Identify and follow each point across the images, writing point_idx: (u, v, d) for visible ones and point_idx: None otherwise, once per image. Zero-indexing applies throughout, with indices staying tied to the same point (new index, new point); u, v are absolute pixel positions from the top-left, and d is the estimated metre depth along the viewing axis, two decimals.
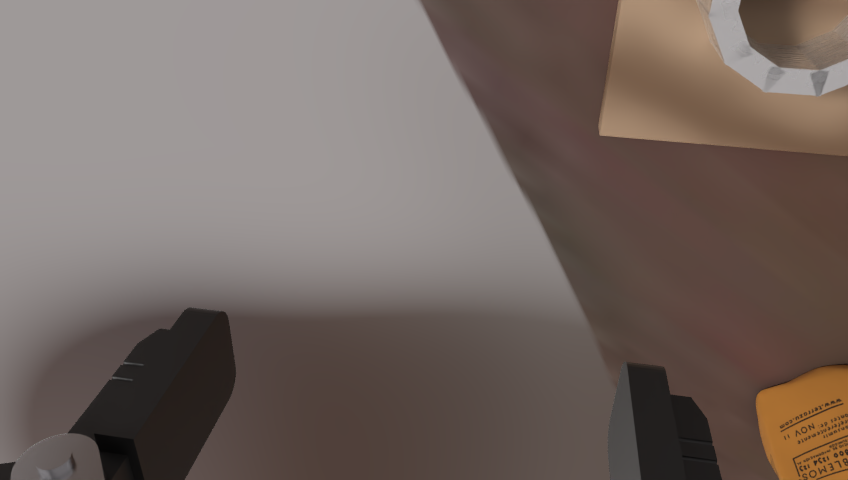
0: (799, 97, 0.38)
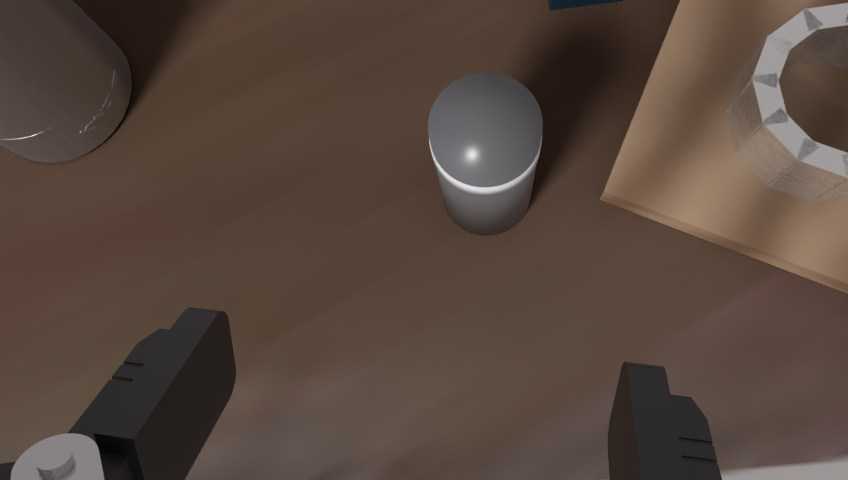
0: None
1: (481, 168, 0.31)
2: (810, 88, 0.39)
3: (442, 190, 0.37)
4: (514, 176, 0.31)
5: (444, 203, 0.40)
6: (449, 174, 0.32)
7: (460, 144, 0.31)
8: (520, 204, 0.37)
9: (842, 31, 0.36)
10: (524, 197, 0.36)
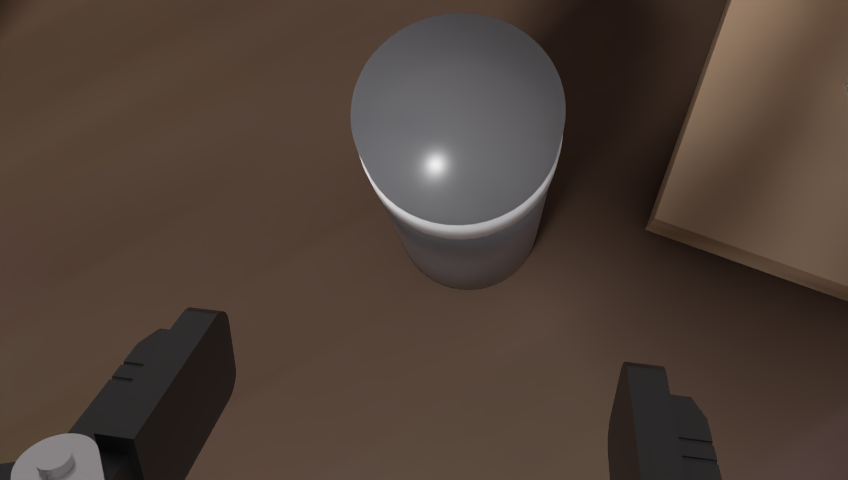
0: None
1: (451, 191, 0.16)
2: None
3: None
4: (514, 204, 0.17)
5: None
6: (393, 202, 0.17)
7: (410, 145, 0.17)
8: (523, 244, 0.22)
9: None
10: (529, 233, 0.22)
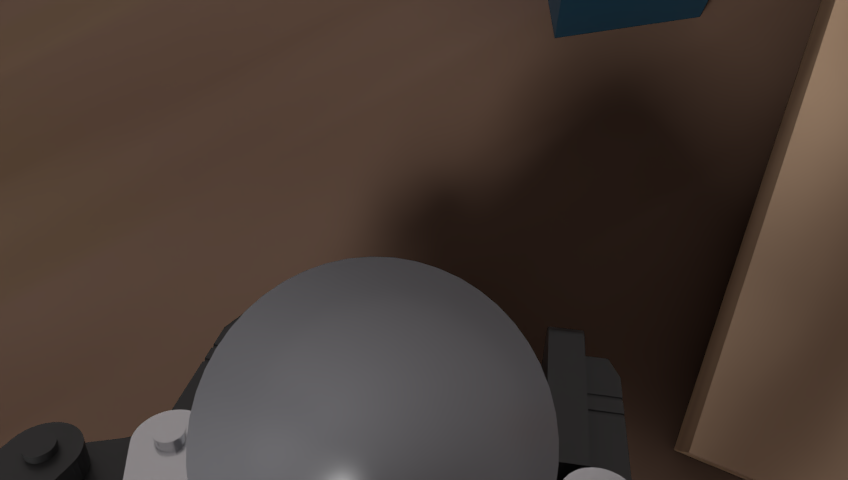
0: None
1: None
2: None
3: None
4: None
5: None
6: None
7: None
8: None
9: None
10: None
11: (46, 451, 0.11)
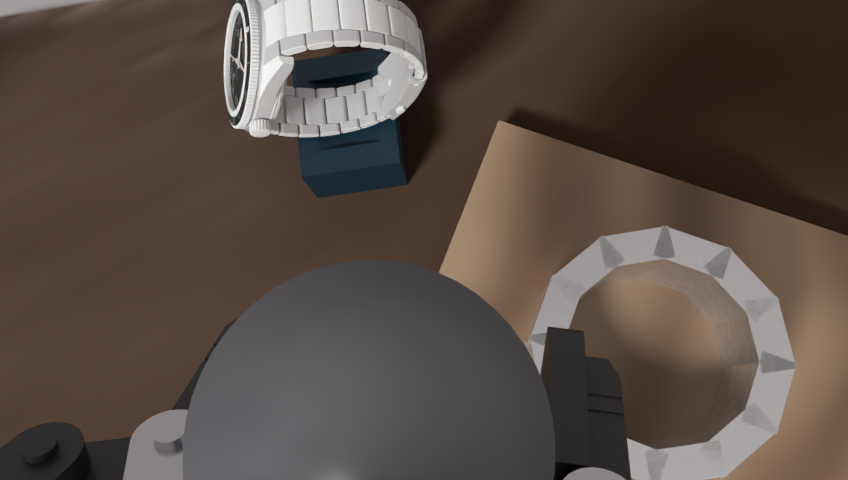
0: None
1: None
2: (631, 314, 0.30)
3: None
4: None
5: None
6: None
7: None
8: None
9: (653, 263, 0.27)
10: None
11: (46, 451, 0.11)
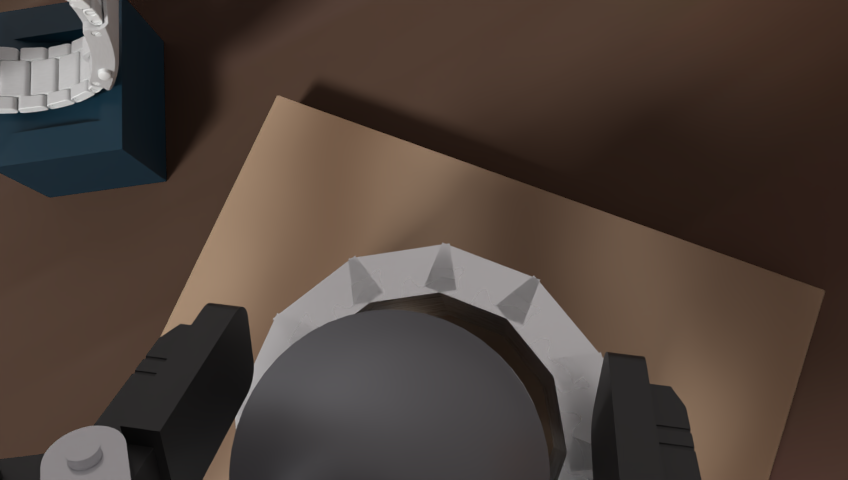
0: None
1: None
2: None
3: None
4: None
5: None
6: None
7: None
8: None
9: (432, 297, 0.18)
10: None
11: None
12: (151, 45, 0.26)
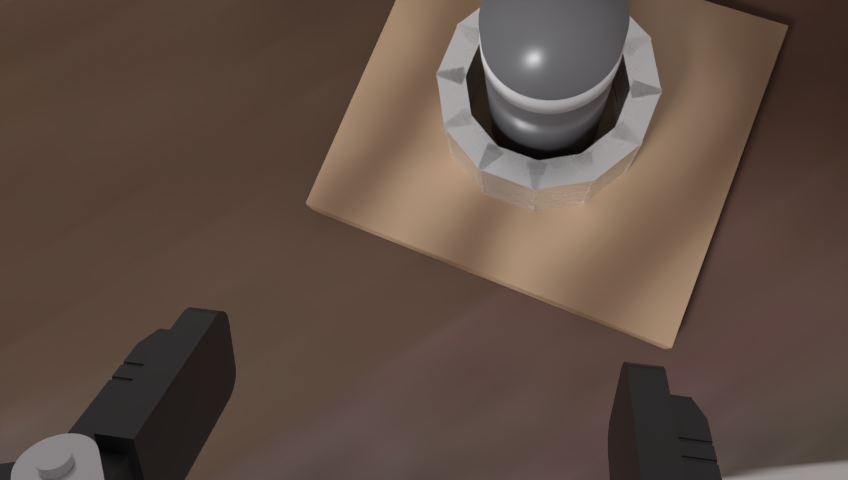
0: (679, 123, 0.33)
1: (552, 73, 0.24)
2: None
3: (494, 115, 0.30)
4: (594, 82, 0.24)
5: (494, 134, 0.33)
6: (508, 86, 0.25)
7: (522, 44, 0.24)
8: (592, 126, 0.30)
9: None
10: (598, 117, 0.29)
11: None
12: None
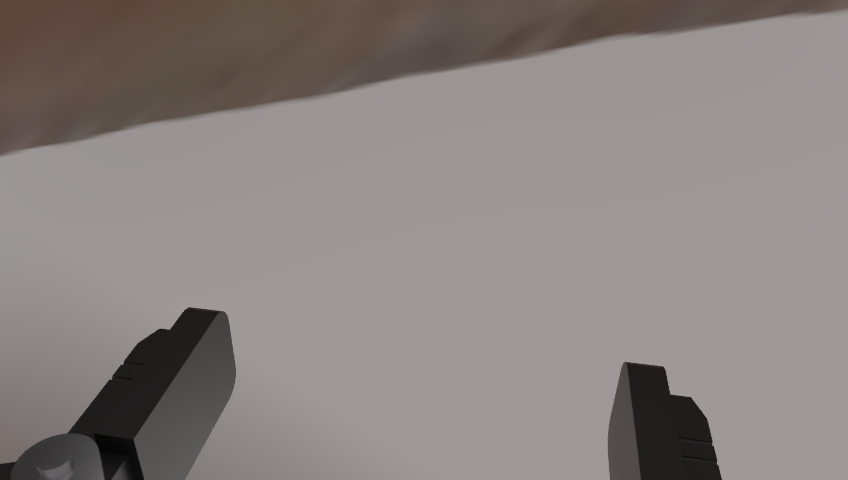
0: None
1: None
2: None
3: None
4: None
5: None
6: None
7: None
8: None
9: None
10: None
11: None
12: None
